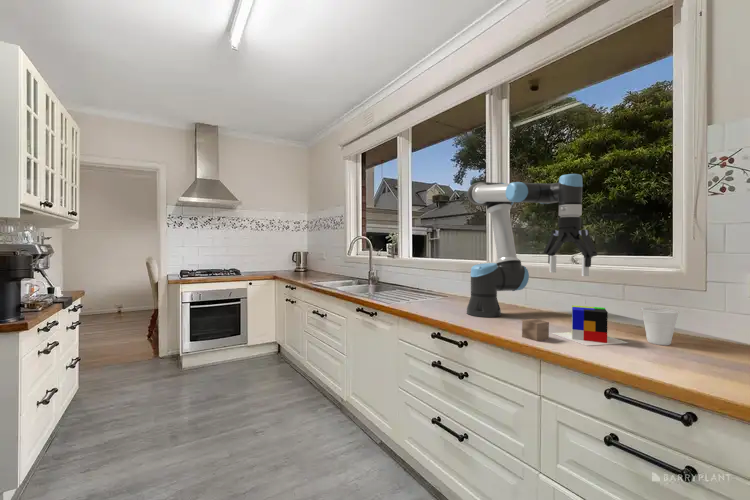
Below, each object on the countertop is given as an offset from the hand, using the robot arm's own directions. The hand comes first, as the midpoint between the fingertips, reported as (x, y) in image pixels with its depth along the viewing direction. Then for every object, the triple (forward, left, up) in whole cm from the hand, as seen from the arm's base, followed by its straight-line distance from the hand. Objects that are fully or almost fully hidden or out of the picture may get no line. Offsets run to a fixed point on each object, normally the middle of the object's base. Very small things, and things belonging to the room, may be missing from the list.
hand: (568, 274), depth 133 cm
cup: (+20, +18, -22) cm, 34 cm away
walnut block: (+6, -18, -22) cm, 28 cm away
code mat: (+10, 0, -21) cm, 23 cm away
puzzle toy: (+10, 0, -21) cm, 23 cm away
